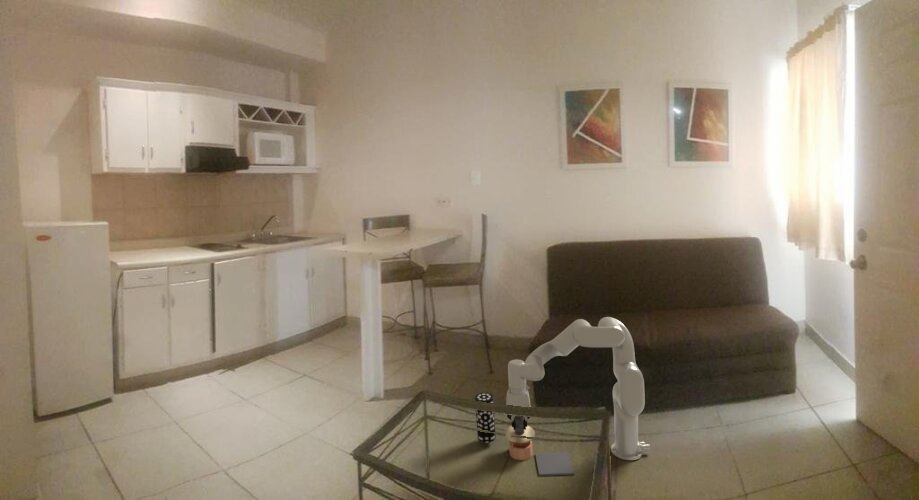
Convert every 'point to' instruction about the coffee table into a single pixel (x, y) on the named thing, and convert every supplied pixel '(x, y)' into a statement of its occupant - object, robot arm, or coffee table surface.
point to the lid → (519, 431)
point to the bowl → (521, 450)
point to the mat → (554, 464)
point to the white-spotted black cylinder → (485, 419)
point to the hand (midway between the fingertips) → (519, 427)
